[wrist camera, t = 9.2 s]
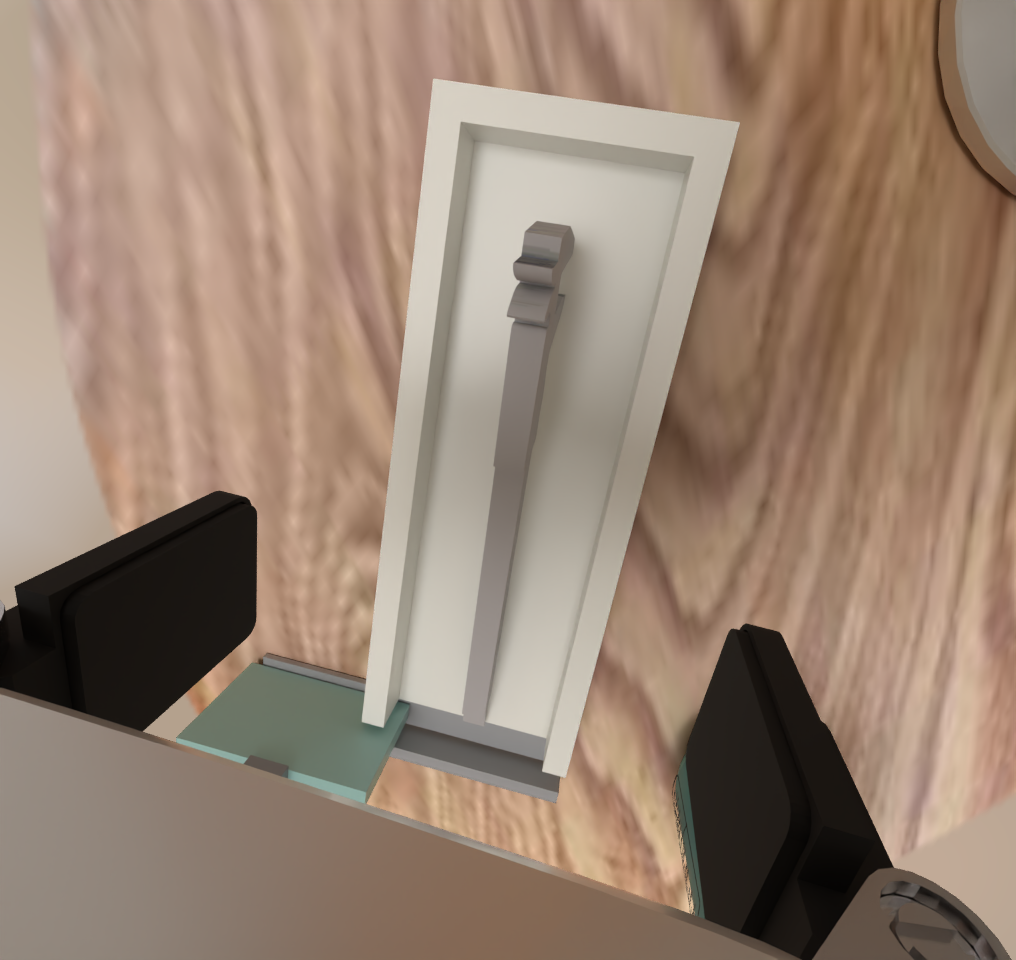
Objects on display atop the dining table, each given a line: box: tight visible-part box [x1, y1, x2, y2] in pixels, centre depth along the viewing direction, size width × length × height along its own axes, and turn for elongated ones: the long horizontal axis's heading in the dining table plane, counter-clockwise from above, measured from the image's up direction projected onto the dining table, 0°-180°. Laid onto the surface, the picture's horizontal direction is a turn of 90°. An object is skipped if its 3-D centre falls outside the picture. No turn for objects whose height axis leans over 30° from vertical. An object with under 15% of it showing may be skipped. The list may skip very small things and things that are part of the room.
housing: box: [263, 79, 740, 803], centre depth 21 cm, size 15×26×2 cm, turn 170°
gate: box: [176, 662, 410, 804], centre depth 23 cm, size 8×1×6 cm, turn 80°
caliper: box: [462, 221, 575, 726], centre depth 19 cm, size 20×1×6 cm, turn 170°
